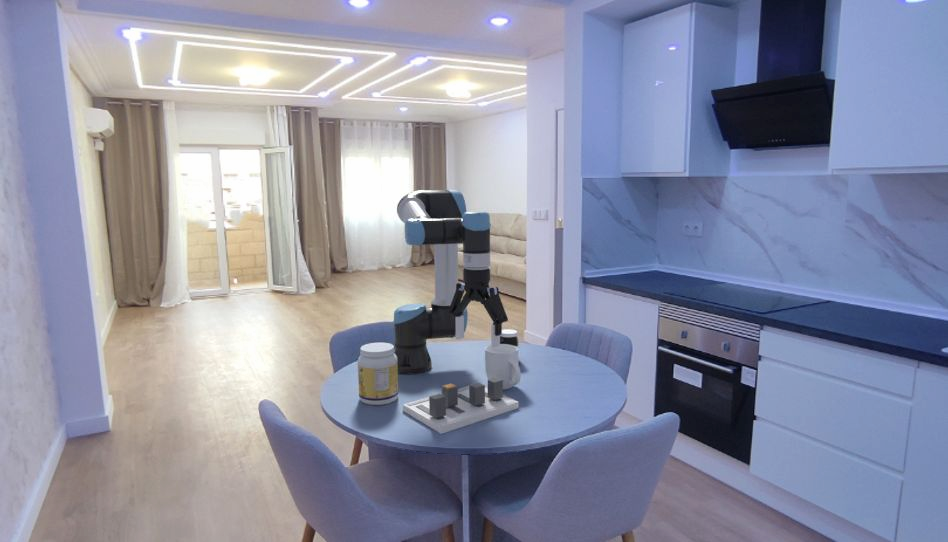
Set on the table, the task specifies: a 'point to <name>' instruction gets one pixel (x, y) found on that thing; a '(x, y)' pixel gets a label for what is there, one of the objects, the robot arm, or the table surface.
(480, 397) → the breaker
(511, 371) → the mug
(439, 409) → the breaker
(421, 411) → the panel
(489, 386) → the breaker
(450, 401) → the breaker
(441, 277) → the robot arm
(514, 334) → the spread jar
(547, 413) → the table surface
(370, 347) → the supplement tub
